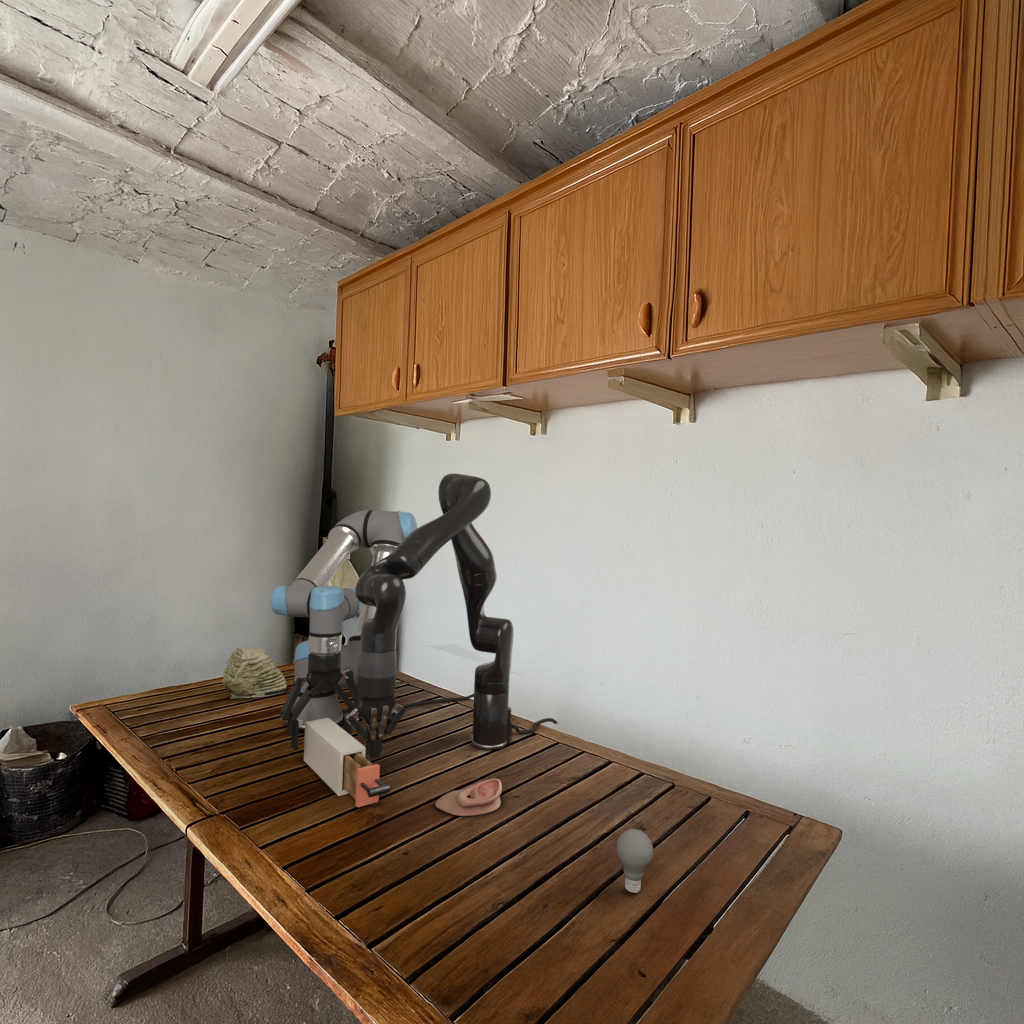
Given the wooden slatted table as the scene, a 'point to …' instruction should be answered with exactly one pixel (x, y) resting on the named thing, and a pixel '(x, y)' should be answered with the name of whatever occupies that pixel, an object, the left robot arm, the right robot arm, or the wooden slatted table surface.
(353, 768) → the drawer
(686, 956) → the wooden slatted table surface
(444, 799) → the anatomical model
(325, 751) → the cabinet
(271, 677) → the fossil
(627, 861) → the light bulb
